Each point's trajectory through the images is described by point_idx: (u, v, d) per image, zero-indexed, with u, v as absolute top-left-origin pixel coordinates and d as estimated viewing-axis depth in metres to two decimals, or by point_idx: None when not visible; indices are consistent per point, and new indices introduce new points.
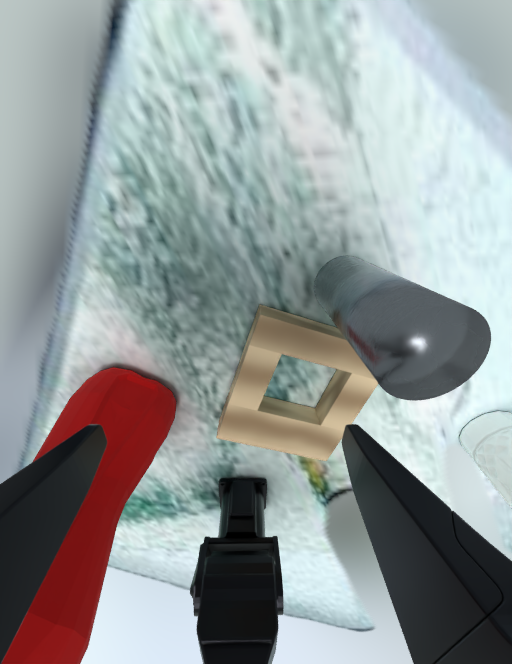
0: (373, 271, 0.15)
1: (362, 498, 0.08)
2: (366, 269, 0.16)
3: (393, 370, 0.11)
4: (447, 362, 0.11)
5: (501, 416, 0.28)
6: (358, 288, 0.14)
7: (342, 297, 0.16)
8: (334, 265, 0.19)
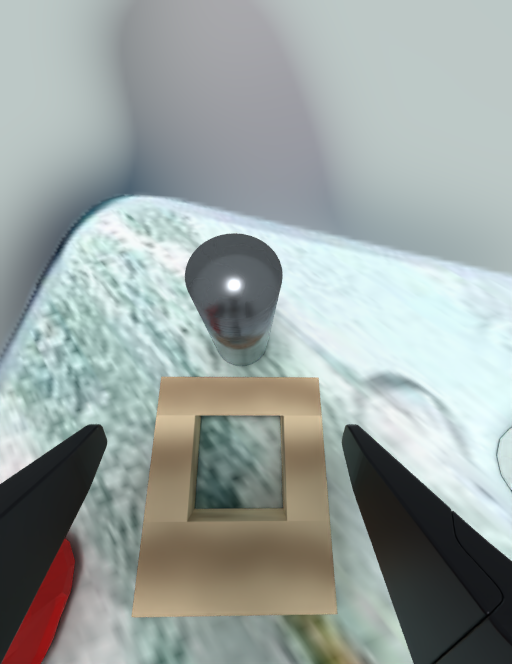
0: None
1: (362, 498, 0.08)
2: None
3: (208, 292, 0.12)
4: (251, 273, 0.13)
5: None
6: None
7: None
8: None
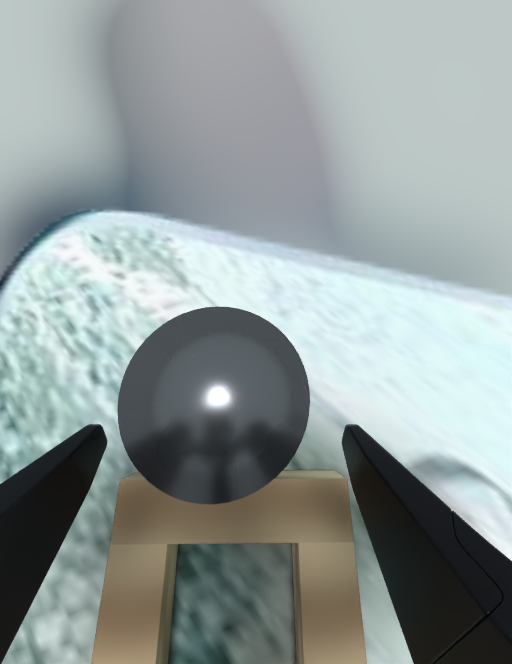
0: None
1: (362, 498, 0.08)
2: None
3: (163, 440, 0.06)
4: (249, 393, 0.06)
5: None
6: None
7: None
8: None
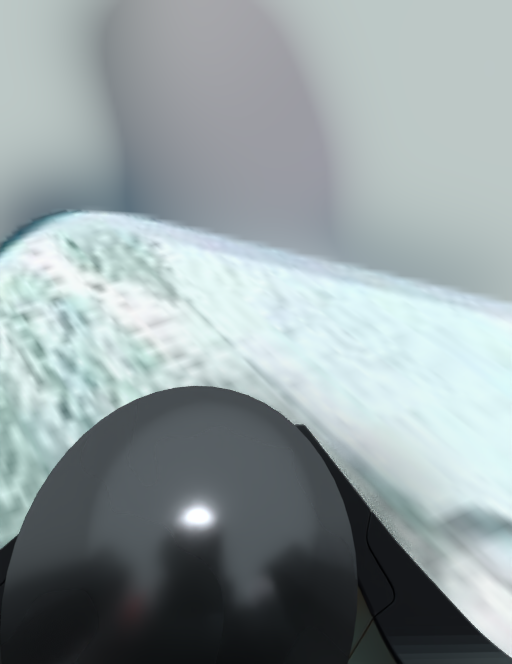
0: None
1: None
2: None
3: None
4: (247, 562, 0.04)
5: None
6: None
7: None
8: None
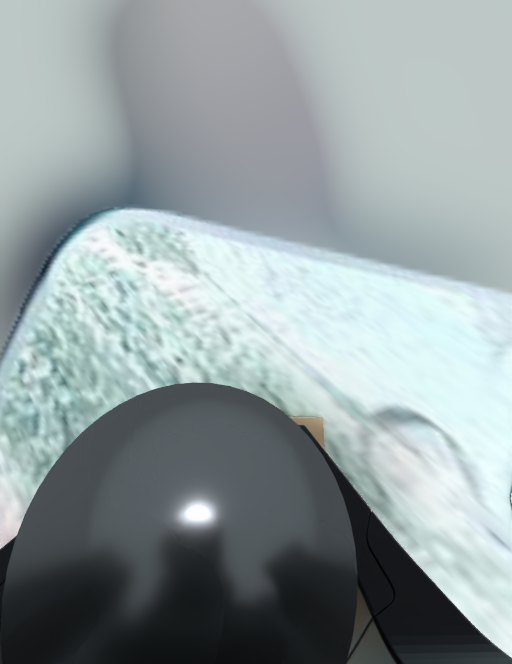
0: None
1: None
2: None
3: None
4: (248, 557, 0.04)
5: None
6: None
7: None
8: None
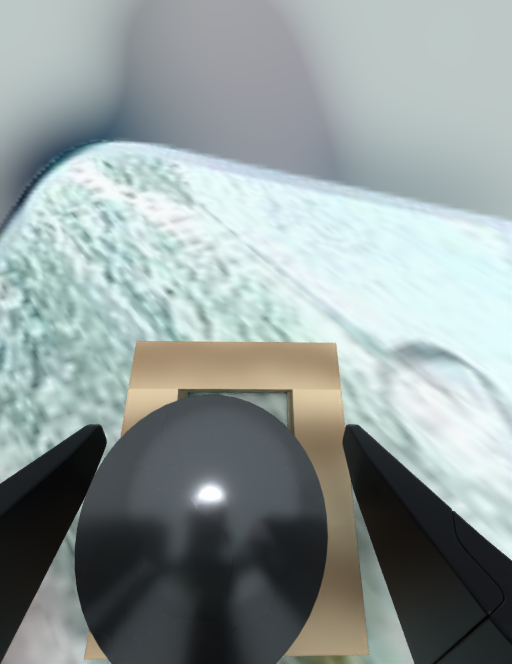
0: None
1: (363, 498, 0.08)
2: None
3: (133, 597, 0.05)
4: (249, 523, 0.05)
5: None
6: None
7: None
8: None
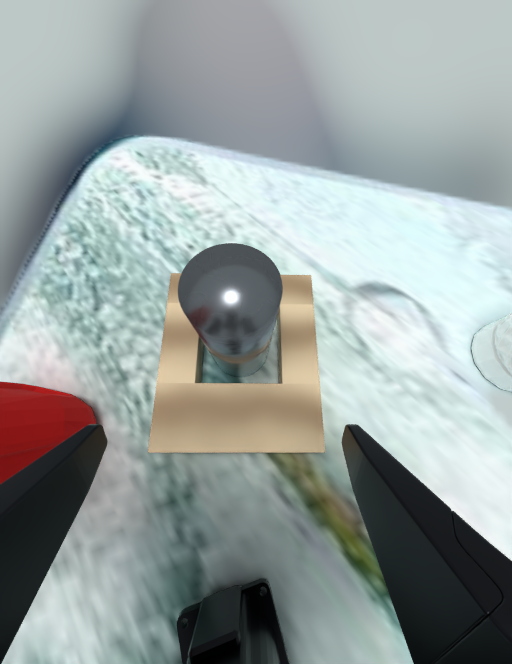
0: None
1: (362, 498, 0.08)
2: None
3: (203, 308, 0.11)
4: (249, 287, 0.12)
5: (488, 324, 0.24)
6: None
7: None
8: None
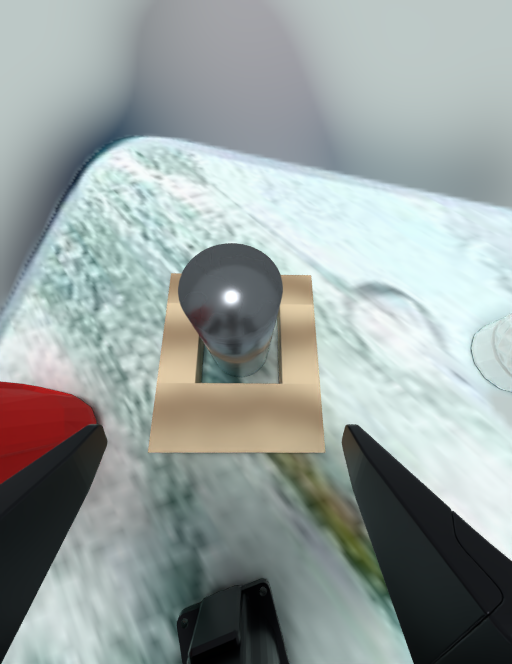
0: None
1: (362, 498, 0.08)
2: None
3: (203, 308, 0.11)
4: (249, 287, 0.12)
5: (488, 324, 0.24)
6: None
7: None
8: None
